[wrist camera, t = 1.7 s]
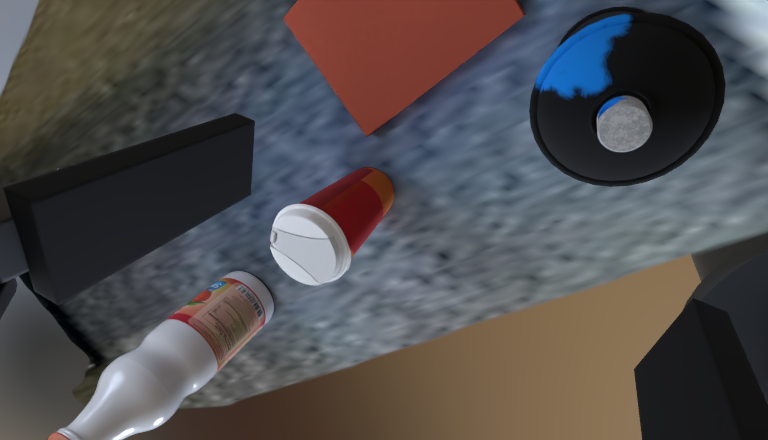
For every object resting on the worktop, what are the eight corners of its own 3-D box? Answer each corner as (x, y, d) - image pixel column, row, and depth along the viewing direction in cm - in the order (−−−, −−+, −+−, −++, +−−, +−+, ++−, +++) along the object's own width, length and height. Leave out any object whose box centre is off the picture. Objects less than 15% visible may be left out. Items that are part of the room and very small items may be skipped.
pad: (525, 14, 34) (524, 15, 33) (370, 134, 44) (366, 137, 43) (426, -146, 32) (422, -150, 31) (288, 18, 42) (282, 18, 42)
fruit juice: (269, 331, 66) (99, 507, 43) (221, 299, 67) (32, 453, 45) (281, 291, 61) (94, 467, 38) (229, 257, 62) (19, 407, 39)
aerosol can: (698, 58, 31) (816, 125, 15) (601, 138, 36) (610, 255, 19) (615, -19, 31) (642, -39, 15) (530, 71, 36) (479, 132, 19)
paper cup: (335, 206, 50) (260, 267, 39) (347, 147, 46) (267, 195, 35) (395, 232, 48) (335, 305, 37) (413, 174, 44) (351, 234, 33)
